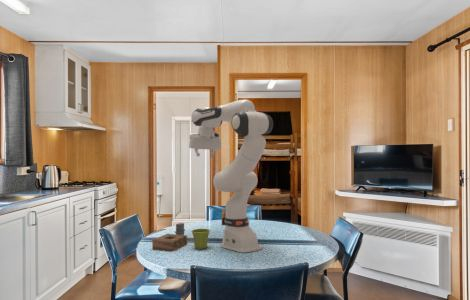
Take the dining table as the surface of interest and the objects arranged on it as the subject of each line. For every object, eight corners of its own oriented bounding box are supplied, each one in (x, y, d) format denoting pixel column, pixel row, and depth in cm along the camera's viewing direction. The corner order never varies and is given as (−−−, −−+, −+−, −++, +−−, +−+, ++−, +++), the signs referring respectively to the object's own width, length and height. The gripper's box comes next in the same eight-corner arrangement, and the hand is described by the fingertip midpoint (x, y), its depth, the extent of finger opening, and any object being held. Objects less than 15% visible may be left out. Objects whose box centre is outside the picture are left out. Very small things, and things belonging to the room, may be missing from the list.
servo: (180, 236, 189) (180, 221, 189) (185, 236, 188) (185, 221, 188) (175, 238, 183) (174, 223, 183) (179, 239, 182) (179, 223, 182)
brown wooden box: (167, 242, 176) (167, 233, 176) (186, 244, 172) (186, 235, 172) (152, 249, 163) (152, 240, 163) (173, 251, 159) (173, 241, 159)
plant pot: (192, 250, 159) (192, 233, 160) (190, 245, 168) (190, 229, 169) (211, 249, 162) (211, 231, 162) (208, 244, 171) (208, 228, 171)
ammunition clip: (222, 225, 219) (222, 207, 219) (221, 224, 221) (221, 207, 221) (237, 224, 222) (237, 206, 223) (236, 223, 224) (236, 206, 224)
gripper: (191, 132, 190) (191, 155, 189) (222, 134, 201) (222, 157, 199) (187, 133, 196) (187, 156, 194) (217, 135, 206) (217, 157, 205)
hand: (205, 156), depth 197 cm, fingers open, 8 cm apart
